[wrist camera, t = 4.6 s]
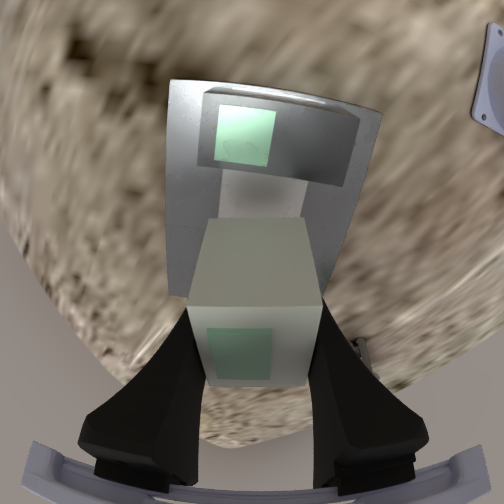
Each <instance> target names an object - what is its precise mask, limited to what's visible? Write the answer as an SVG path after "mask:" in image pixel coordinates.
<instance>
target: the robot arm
mask: <svg viewBox="0 0 504 504" xmlns="http://www.w3.org/2000/svg"><path fill="white" fill-rule="evenodd" d="M498 31H499V33H498ZM482 114H483V119H482ZM472 117H473V119H474V120H476V121H478V122H480V123H482V124H483V125H485V126H487V127H489V128H491V129H492V130H494V131H496V132H498V133H499V134H501V135H503V136H504V29H502V28H501V27H500V26H498V25H497V24H496V23H489V25H488V31H487V39H486V46H485V52H484V58H483V64H482V69H481V74H480V79H479V84H478V88H477V93H476V97H475V101H474V105H473V109H472ZM321 298H322V297H321ZM322 303H323V308H322V313H321V318H320V323H319V328H318V332H317V337H316V342H315V346H314V351H313V355H312V359H311V364H310V368H309V372H308V380H309V385H310V391H311V398H312V410H313V436H314V473H313V474H314V475H313V489H309V490H295V491H263V492H262V491H229V490H215V489H204V488H194V487H186V486H193V485H195V484H196V483H197V482H198V448H199V427H200V413H201V402H202V395H203V390H204V385H205V380H206V374H205V371H204V368H203V364H202V361H201V358H200V354H199V351H198V347H197V344H196V340H195V337H194V333H193V329H192V326H191V322H190V318H189V315H188V311H187V307H186V308H185V310H184V312H183V313H182V315H181V317H180V318H179V320H178V322H177V323H176V325H175V326H174V328H173V329H172V331H171V332H170V334H169V335H168V337H167V338H166V340H165V341H164V342H163V344H162V345H161V346H160V348H159V349H158V350H157V352H156V353H155V354H154V355H153V357H152V358H151V359H150V360H149V361H148V363H147V364H146V365H145V366H144V367H143V368H142V369H141V370H140V371H139V373H138V374H137V375H136V376H135V377H134V378H133V379H132V380H131V381H130V382H129V383H128V384H126V385H125V386H124V387H123V388H122V389H121V390H120V391H119V392H117V393H116V394H115V395H114V396H113V397H112V398H110V399H109V400H108V401H106V402H105V403H104V404H103V405H101V406H100V407H98V408H97V409H96V410H94V411H92V412H91V413H90V414H88V415H87V416H86V419H85V421H84V423H83V426H82V429H81V433H80V436H79V440H78V445H79V446H80V448H81V449H83V450H84V451H86V452H87V453H89V454H90V455H92V456H93V457H95V458H96V459H97V460H96V465H95V467H94V466H91V465H88V464H85V463H82V462H79V461H76V460H73V459H70V458H68V457H65V456H63V455H62V454H61V453H59V452H57V451H56V450H54V449H52V448H49V447H47V446H44V445H42V444H39V443H38V442H35V441H33V442H32V445H31V448H30V451H29V455H28V458H27V462H26V465H25V469H24V473H23V477H22V481H21V486H22V487H24V488H25V489H27V490H29V491H31V492H33V493H35V494H37V495H38V496H40V497H42V498H44V499H46V500H48V501H50V502H52V503H54V504H171V503H167V502H162V501H158V500H155V499H154V498H153V497H158V498H163V499H168V500H174V501H181V502H188V503H196V504H328V503H335V502H341V501H348V500H355V499H356V500H355V501H354V502H352V503H347V504H468V503H470V502H472V501H474V500H476V499H477V498H480V497H482V496H484V495H486V494H487V493H489V492H490V491H491V485H490V480H489V475H488V470H487V466H486V461H485V457H484V453H483V449H482V446H481V445H477V446H475V447H472V448H470V449H467V450H465V451H462V452H460V453H458V454H456V455H454V456H453V457H451V458H450V459H449V460H446V461H443V462H440V463H437V464H434V465H431V466H428V467H425V468H422V469H418V470H414V465H413V462H415V461H416V458H415V452H417V451H418V450H419V449H421V448H422V447H424V446H425V445H426V444H427V443H428V441H429V436H428V432H427V429H426V426H425V423H424V421H423V419H422V418H421V417H420V416H419V415H417V414H416V413H415V412H413V411H412V410H411V409H409V408H408V407H407V406H406V405H404V404H403V403H402V402H401V401H400V400H399V399H397V398H396V397H395V396H394V395H393V394H392V393H391V392H390V391H389V390H388V389H387V388H386V387H385V386H384V385H383V384H382V383H381V382H380V381H379V380H378V379H377V378H376V377H375V376H374V375H373V374H372V372H371V371H370V370H369V369H368V368H367V367H366V365H365V364H364V363H363V362H362V360H361V359H360V358H359V357H358V355H357V354H356V352H355V351H354V350H353V348H352V347H351V345H350V344H349V343H348V341H347V340H346V338H345V336H344V335H343V333H342V332H341V330H340V329H339V327H338V325H337V324H336V322H335V320H334V318H333V317H332V315H331V313H330V311H329V309H328V307H327V305H326V303H325V301H324V299H323V298H322ZM180 485H182V486H180Z"/></svg>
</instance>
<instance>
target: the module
mask: <svg viewBox="0 0 504 504" xmlns="http://www.w3.org/2000/svg"><path fill="white" fill-rule="evenodd" d="M186 307H187V311H188V315H189V318H190V322H191V326H192V329H193V333H194V337H195V340H196V344H197V347H198V351H199V354H200V358H201V361H202V364H203V368H204V371H205V374H206V378H207V381H208V384H209V386H227V387H291V386H305V384H306V380H307V376H308V372H309V368H310V364H311V359H312V355H313V351H314V346H315V342H316V337H317V332H318V328H319V323H320V318H321V313H322V308H323V303H322V298H321V293H320V288H319V283H318V278H317V274H316V269H315V264H314V259H313V255H312V250H311V246H310V241H309V237H308V232H307V228H306V224H305V220H304V218H214V219H209V220H208V224H207V227H206V231H205V235H204V238H203V242H202V246H201V250H200V253H199V257H198V261H197V265H196V269H195V273H194V277H193V281H192V285H191V289H190V293H189V297H188V301H187V305H186Z"/></svg>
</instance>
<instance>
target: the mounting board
mask: <svg viewBox="0 0 504 504" xmlns="http://www.w3.org/2000/svg"><path fill="white" fill-rule="evenodd" d="M381 118H382V113H380V112H378V111H375V110H372V109H368V108H365V107H361V106H358V105H354V104H350V103H346V102H342V101H338V100H334V99H330V98H326V97H321V96H316V95H312V94H307V93H302V92H297V91H291V90H285V89H279V88H273V87H267V86H260V85H252V84H244V83H235V82H225V81H213V80H199V79H176V78H175V79H171V80H170V89H169V102H168V119H167V140H166V181H165V208H166V250H167V272H168V289H169V295H173V296H180V297H187V298H188V297H189V293H190V289H191V285H192V281H193V277H194V273H195V269H196V265H197V261H198V257H199V253H200V250H201V246H202V242H203V238H204V235H205V231H206V227H207V224H208V220H209V219H214V218H304V220H305V224H306V228H307V232H308V237H309V241H310V246H311V250H312V255H313V259H314V264H315V269H316V274H317V278H318V283H319V288H320V293H321V297H323V295H324V292H325V290H326V287H327V284H328V282H329V279H330V277H331V274H332V271H333V269H334V266H335V264H336V261H337V258H338V255H339V253H340V250H341V247H342V244H343V242H344V239H345V236H346V233H347V230H348V227H349V224H350V222H351V219H352V216H353V213H354V210H355V207H356V204H357V200H358V197H359V194H360V191H361V188H362V185H363V182H364V178H365V175H366V172H367V168H368V165H369V162H370V158H371V155H372V151H373V148H374V144H375V140H376V137H377V133H378V129H379V126H380V122H381Z"/></svg>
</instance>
